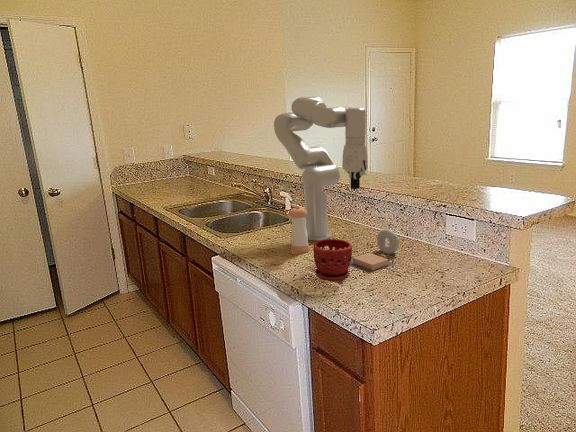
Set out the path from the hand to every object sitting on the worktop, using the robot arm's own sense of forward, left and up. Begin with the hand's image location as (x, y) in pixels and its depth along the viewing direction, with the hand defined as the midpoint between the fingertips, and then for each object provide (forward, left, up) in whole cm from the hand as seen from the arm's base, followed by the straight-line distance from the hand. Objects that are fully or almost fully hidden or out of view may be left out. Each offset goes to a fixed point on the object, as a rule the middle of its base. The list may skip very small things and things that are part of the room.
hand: (355, 188), depth 172 cm
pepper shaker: (-13, -19, -25) cm, 34 cm away
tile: (+12, -9, -23) cm, 28 cm away
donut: (+12, +5, -25) cm, 29 cm away
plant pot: (+16, -25, -25) cm, 39 cm away
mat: (+15, -9, -25) cm, 31 cm away
